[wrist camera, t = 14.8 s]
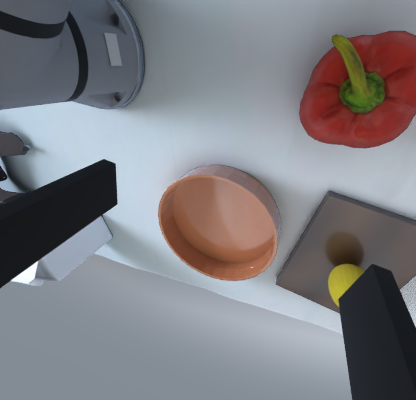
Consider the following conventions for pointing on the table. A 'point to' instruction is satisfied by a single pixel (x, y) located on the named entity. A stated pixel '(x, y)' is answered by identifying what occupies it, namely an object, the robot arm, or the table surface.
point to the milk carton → (67, 255)
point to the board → (348, 247)
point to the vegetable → (362, 90)
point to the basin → (221, 222)
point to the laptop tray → (10, 146)
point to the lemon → (342, 279)
